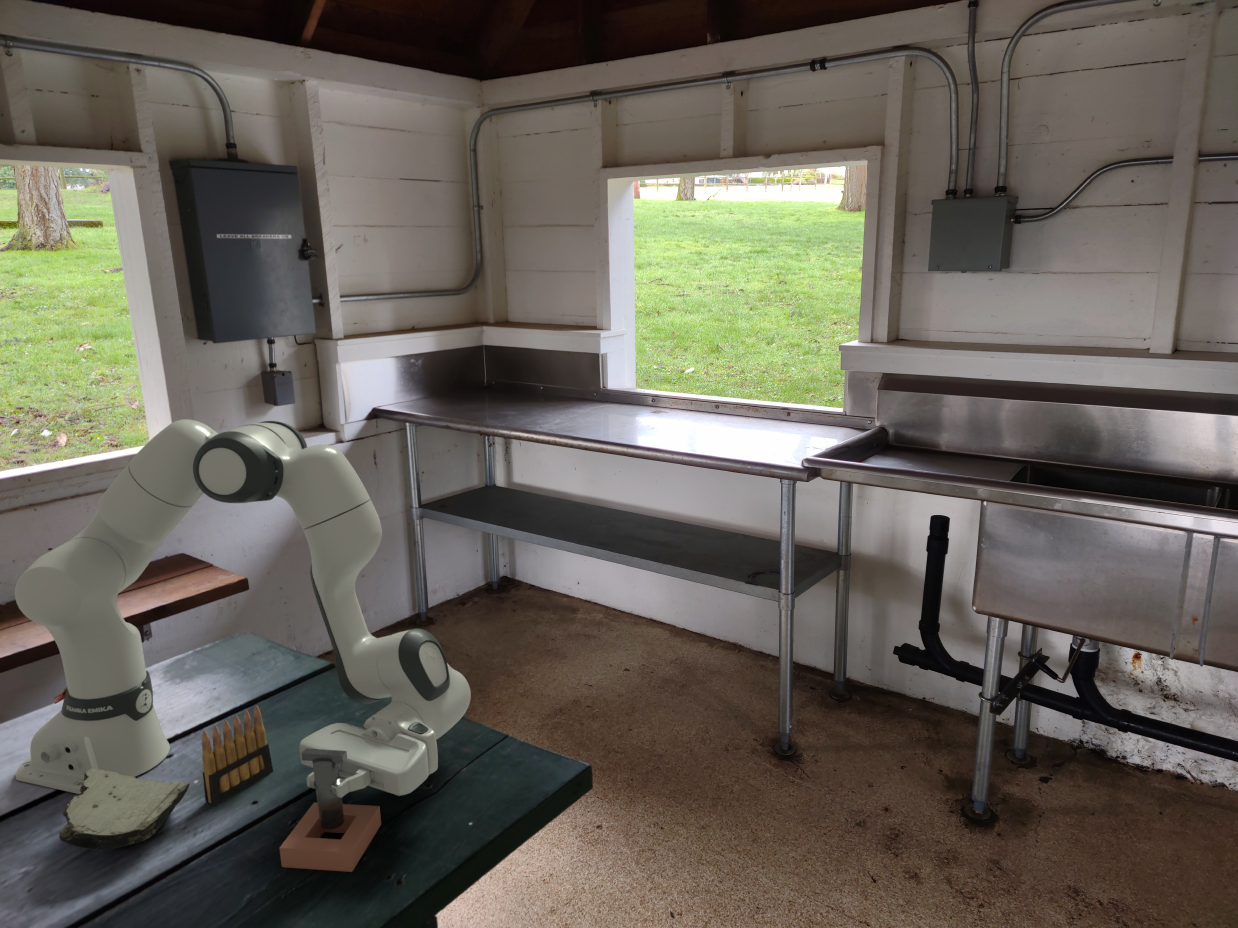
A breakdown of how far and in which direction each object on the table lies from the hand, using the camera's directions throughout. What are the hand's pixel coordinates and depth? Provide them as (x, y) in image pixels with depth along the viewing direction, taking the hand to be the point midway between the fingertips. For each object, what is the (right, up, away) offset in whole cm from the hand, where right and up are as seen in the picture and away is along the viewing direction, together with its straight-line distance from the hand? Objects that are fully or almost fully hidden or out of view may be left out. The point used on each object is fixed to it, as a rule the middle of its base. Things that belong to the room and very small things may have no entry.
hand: (322, 787), depth 116 cm
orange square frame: (0, -9, +3) cm, 10 cm away
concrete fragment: (-31, -10, +6) cm, 33 cm away
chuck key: (+1, -6, +2) cm, 6 cm away
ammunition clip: (-19, -7, +17) cm, 26 cm away
